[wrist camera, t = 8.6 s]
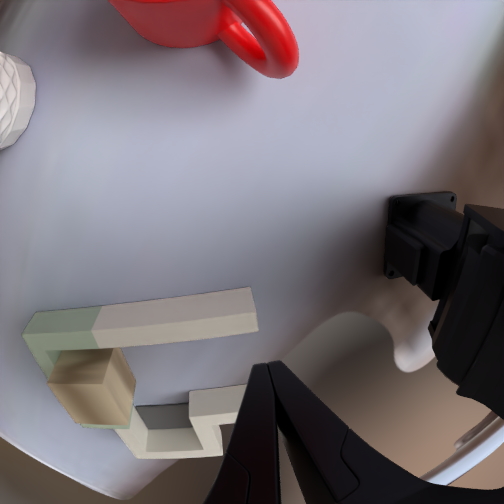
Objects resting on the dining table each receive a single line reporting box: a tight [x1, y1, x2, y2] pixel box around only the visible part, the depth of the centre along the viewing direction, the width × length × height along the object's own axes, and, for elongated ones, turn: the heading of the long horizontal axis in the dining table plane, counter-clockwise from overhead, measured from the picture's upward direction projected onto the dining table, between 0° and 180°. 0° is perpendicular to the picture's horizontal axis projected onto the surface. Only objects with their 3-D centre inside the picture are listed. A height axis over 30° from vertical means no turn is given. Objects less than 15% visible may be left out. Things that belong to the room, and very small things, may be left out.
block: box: [47, 347, 136, 425], centre depth 21 cm, size 5×5×5 cm
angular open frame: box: [21, 287, 258, 459], centre depth 23 cm, size 18×18×3 cm
